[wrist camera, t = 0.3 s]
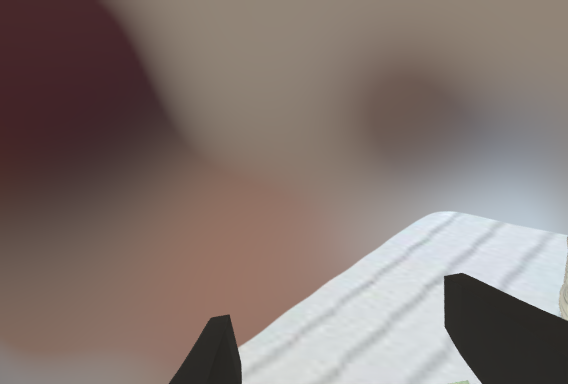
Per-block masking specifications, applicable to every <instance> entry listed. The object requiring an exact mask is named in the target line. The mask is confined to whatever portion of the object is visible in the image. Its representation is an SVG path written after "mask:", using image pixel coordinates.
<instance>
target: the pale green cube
mask: <svg viewBox="0 0 568 384" xmlns="http://www.w3.org/2000/svg"><path fill="white" fill-rule="evenodd" d="M450 384H470V383H469V382H468V380H466V381H461V382H455V383H450Z"/></svg>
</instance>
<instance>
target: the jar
mask: <svg viewBox="0 0 568 384" xmlns="http://www.w3.org/2000/svg"><path fill="white" fill-rule="evenodd" d="M567 247H568V238H567ZM559 308H560V312H561V318H562V319H565V320H567V321H568V254H567V261H566V269H565V276H564V284H563V285H562V287H561V290H560V297H559Z"/></svg>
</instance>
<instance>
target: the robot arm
mask: <svg viewBox="0 0 568 384" xmlns="http://www.w3.org/2000/svg"><path fill="white" fill-rule="evenodd" d="M444 312H445V328H446V330H447V332H448V334H449V335H450V337H451V339H452V341H453V343H454V344H455V346H456V348H457V349H458V351H459V353H460V354H461V356H462V357H463V359H464V360H465V361H466V363H467V364H468V366H469V367H470V368H471V370H472V371H473V372H474V374H475V375H476V376H477V378H478V379H479V380H480V382H481V383H482V384H568V321H567V320H565V319H562V318H560V317H558V316H555V315H553V314H550V313H548V312H546V311H543V310H541V309H539V308H537V307H534V306H532V305H530V304H528V303H526V302H523V301H521V300H519V299H517V298H515V297H513V296H511V295H509V294H506V293H504V292H502V291H500V290H498V289H496V288H494V287H492V286H490V285H488V284H486V283H484V282H482V281H479V280H477V279H475V278H473V277H471V276H469V275H466V274H464V273H459V274H453V275H448V276H444ZM169 384H242V372H241V360H240V356H239V352H238V348H237V344H236V340H235V336H234V332H233V327H232V323H231V319H230V315H224V316H218V317H213V318H211V319H210V320H209V321H208V323H207V324H206V326H205V328H204V330H203V331H202V333H201V335H200V336H199V338H198V340H197V342H196V343H195V345H194V346H193V348H192V350H191V351H190V353H189V354H188V356H187V357H186V359H185V361H184V362H183V364H182V365H181V367H180V368H179V370H178V371H177V373H176V374H175V376H174V377H173V378H172V380H171V381H170V383H169Z"/></svg>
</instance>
